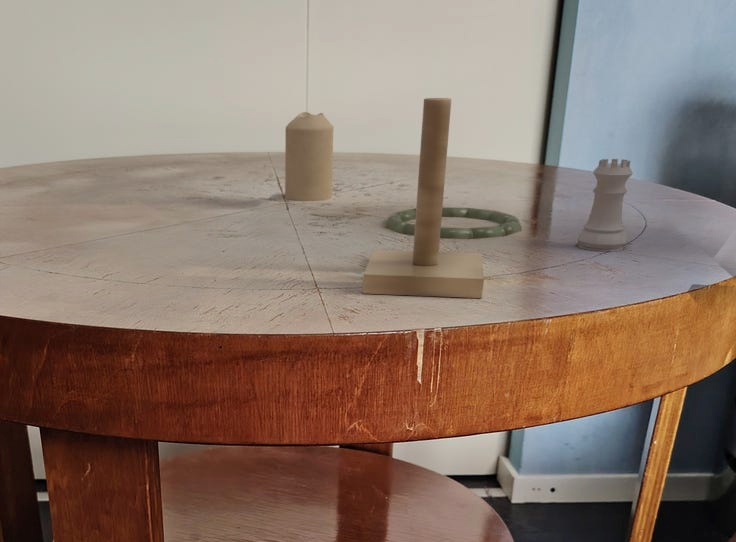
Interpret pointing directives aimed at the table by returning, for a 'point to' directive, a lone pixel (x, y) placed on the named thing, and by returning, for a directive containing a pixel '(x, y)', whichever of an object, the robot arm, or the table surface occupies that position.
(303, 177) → the candle
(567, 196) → the table surface
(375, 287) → the post
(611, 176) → the rook chess piece
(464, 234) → the hoop
